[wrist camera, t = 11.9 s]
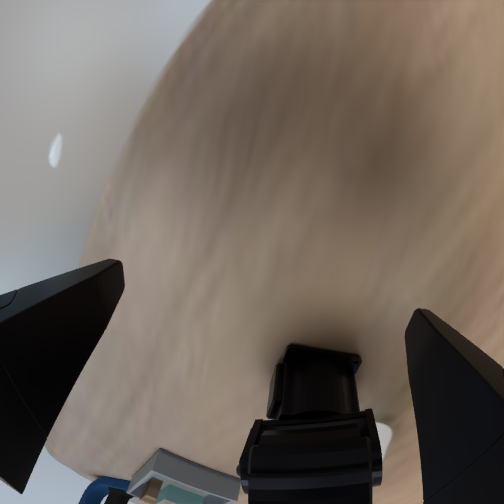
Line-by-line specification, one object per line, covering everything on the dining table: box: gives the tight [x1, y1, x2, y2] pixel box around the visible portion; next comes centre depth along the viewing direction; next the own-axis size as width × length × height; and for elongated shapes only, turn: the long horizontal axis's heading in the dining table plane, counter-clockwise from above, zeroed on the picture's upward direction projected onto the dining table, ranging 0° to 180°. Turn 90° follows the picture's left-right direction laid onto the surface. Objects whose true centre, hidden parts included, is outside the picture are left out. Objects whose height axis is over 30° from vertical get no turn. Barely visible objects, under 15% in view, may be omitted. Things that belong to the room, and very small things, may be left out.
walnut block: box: [139, 477, 163, 504], centre depth 41 cm, size 6×8×4 cm
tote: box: [126, 448, 241, 504], centre depth 40 cm, size 20×13×4 cm, turn 150°
